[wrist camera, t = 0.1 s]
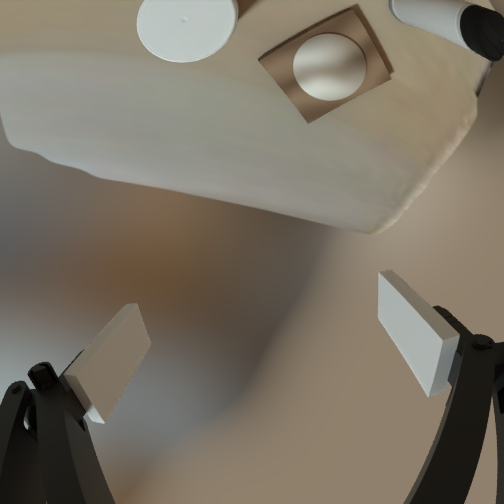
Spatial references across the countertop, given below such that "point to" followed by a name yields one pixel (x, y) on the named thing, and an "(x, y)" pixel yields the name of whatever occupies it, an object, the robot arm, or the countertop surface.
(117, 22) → the countertop surface
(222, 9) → the supplement tub
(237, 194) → the countertop surface
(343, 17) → the serving board
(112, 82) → the countertop surface
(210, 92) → the countertop surface
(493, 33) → the travel mug
